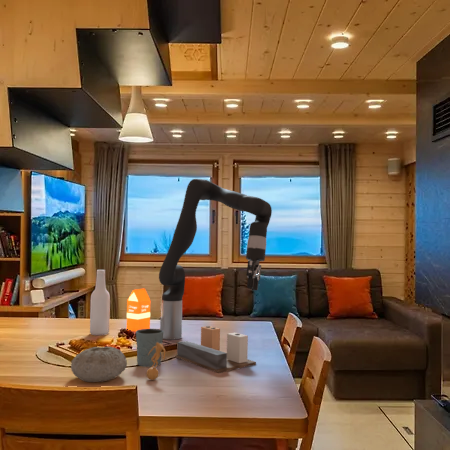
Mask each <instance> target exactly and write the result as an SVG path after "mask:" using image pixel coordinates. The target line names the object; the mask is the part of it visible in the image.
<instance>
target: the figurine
mask: <svg viewBox="0 0 450 450" xmlns="http://www.w3.org/2000/svg"><path fill="white" fill-rule="evenodd" d="M154 348H156V353H155V354H154V356H153V357H152V358H151V360H152V362H153V363H154V364H153V365H152V367H148V369H147V371H146V374H145V375H146V378H147V379H148V380H149V381H155V380H157V379H158V377H159V370H158V369H157V367H158V366H159V365H158V362H157V360H158V359H159V357H160V352H161V353H162V351H163V356H162V358H161V361H165V359H166V352H167V351H166V349H165V347H164V344H163V343H162V344H160V343H158V342H157V343H156V346H154V347H153V348H152V349H151V350H150V352H151V351H152V350H153V349H154ZM150 352H149V353H150ZM148 355H149V354H148ZM154 359H155V361H154ZM155 362H156V366H154V365H155ZM157 365H158V366H157Z"/></svg>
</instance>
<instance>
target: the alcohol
mask: <svg viewBox="0 0 450 450" xmlns="http://www.w3.org/2000/svg"><path fill="white" fill-rule="evenodd" d="M89 309H90V311H89V312H90V319H89V334H90V335H92V336H106V335H108V334H109V332H110V317H111V315H110V313H111V312H110V311H111V310H110V309H111V296H110V292H109V291H108V290H107V287H106V269H97V270H96V279H95V288H94V290H93V291H92V293H91V295H90V308H89Z"/></svg>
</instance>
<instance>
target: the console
mask: <svg viewBox="0 0 450 450" xmlns="http://www.w3.org/2000/svg"><path fill="white" fill-rule="evenodd" d="M176 345H177V347H176V348H177V354H175V358H176V359H179V360H181V361H184V362H186V363H191V364H192V365H196V366H197V367H201V368H203V369H206V370H209V371H212V372H215V373H218V374H221V373H224V372H229V371H235V370H238V369H242V368H247V367H251V366H257V361H254V360H250V359H248V358H247V362H243V363H237V362H234V361H231V360H228V359H227V352H226V351H222V350H220V351H218V350H215V349H212V348H208V347H205V346H202V345H201V344H198V343H195V342H192V341H189V340H184V341H179V342H178V341H177V344H176Z"/></svg>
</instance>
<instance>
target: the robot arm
mask: <svg viewBox="0 0 450 450" xmlns="http://www.w3.org/2000/svg"><path fill="white" fill-rule="evenodd" d="M200 201H215V202H219V203H222V204H223V205H224V206H227V207H228V208H231V209H234V210H236V211H240V212H246V213H248V214H250V215H254V216H255V219H254V221H252V222H251V223H250V225H249V230H248V231H249V232H248V238H247V243H246V244H247V245H246V254H245V259H246V260H247V268H246V275H245V276H246V277H247V284H246V285H247V286H246V287H247V288H248V289H251V290H252V291H258V289H259V281H260V280H261V273H262V265H261V264H260V262H264V261H266V252H267V251H266V250H267V236H268V235H267V233H268V226H269V224H270V221H271V218H272V215H273V214H272V213H273V212H272V210H273V209H272V205H271V204H270V203H269V202H268V201H266V200H264V199H262V198H261V197H258V196H257V197H256V196H252V195H247V194H244V193H241V192H238V191H234V190H230V189H226V188H224V187H221V186H219V185H217V184H216V183H214V182H212V181H210V180H208V179H202V178H192V179H191V180H190V181H189V182H188V184H187V186H186V190H185V194H184V199H183V204H182V208H181V210H180V211H181V212H180V215H179V217H178V221H177V224H176V226H175V229H174V233H173V235H172V238H171V239H172V240H171V243H170V245H169V248H168V250H167V253H166V256H165V258H164V260H163V262H162V265H161V267H160V269H159V271H158V280H159V283H160V284H161V285H162V286H166V287H167V286H169V287H168V289H167V290H166V291H164V292H163V293H162V295H161V304H162V317H161V316H160V319H159V320H160V321H159V323H160V324H159V325H160V326H159V328H160V329H161V330H163V340H170V341H171V340H180V339H181V338H182V335H183V331H182V330H183V329H182V328H183V296H184V294H185V284H186V273H185V269H184V267H183V266H182V265H180V264H178V263H179V261H180V260H181V258H182V256H183V255H184V254H185V253H186V251H188V250H189V249H190V247H191V246H192V244H193V242H194V240H195V237H196V235H197V234H196V233H197V229H198V225H197V223H198V222H197V218H196V217H197V216H196V215H197V209H198V206H199V203H200Z"/></svg>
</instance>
